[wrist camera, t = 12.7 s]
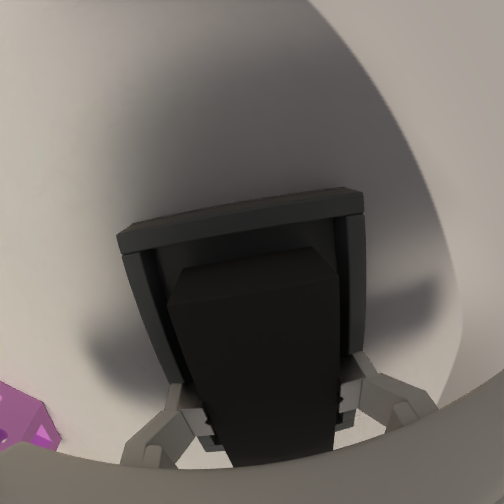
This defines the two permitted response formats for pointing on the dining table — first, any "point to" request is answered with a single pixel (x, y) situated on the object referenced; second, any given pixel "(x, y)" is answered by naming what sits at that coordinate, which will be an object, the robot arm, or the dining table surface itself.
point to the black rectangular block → (263, 351)
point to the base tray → (241, 246)
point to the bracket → (25, 420)
